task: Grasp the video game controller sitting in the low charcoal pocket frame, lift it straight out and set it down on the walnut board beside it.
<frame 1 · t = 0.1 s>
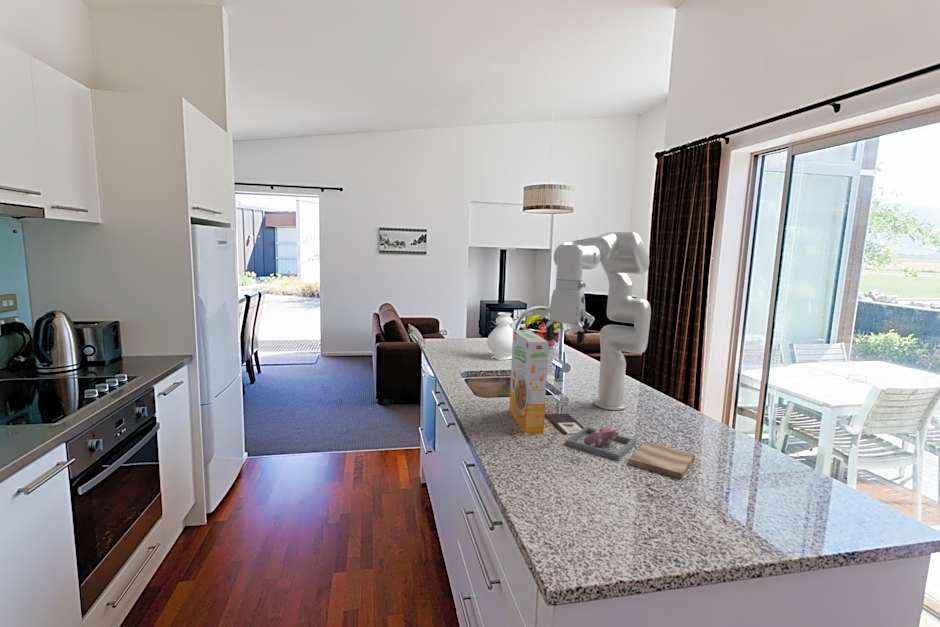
hand: (564, 341, 145), 31 cm above the worktop, tool pointing down, fingers open, 9 cm apart
cereal box: (525, 421, 164), on the worktop
video game controller: (600, 445, 146), on the worktop
pocket frame: (601, 444, 146), on the worktop
decorative vase: (502, 358, 262), on the worktop
chocolate bar: (565, 425, 162), on the worktop
walnut board: (662, 461, 135), on the worktop
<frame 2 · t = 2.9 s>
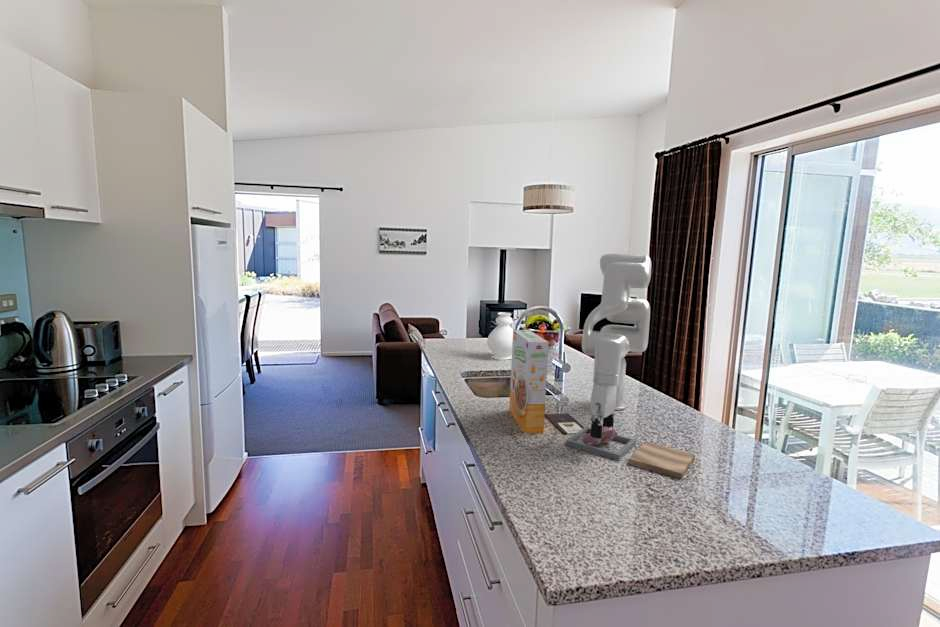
hand: (601, 433, 145), 4 cm above the worktop, tool pointing down, fingers open, 9 cm apart
video game controller: (599, 444, 146), on the worktop, touching gripper
everything else where it was.
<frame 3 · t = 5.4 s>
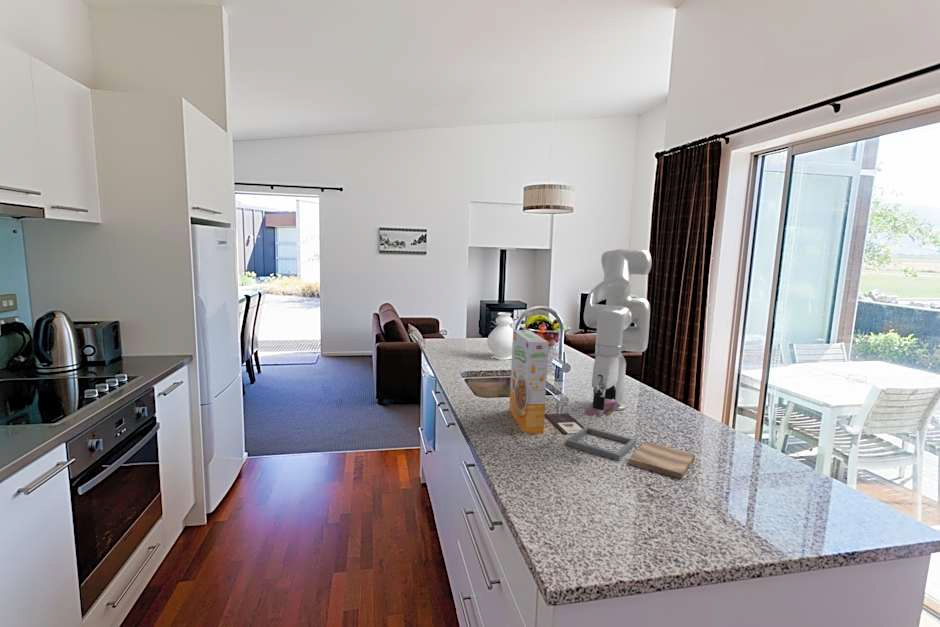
hand: (604, 404, 145), 12 cm above the worktop, tool pointing down, fingers closed on video game controller, 9 cm apart
video game controller: (601, 416, 146), point 8 cm above the worktop, touching gripper
everything else where it was.
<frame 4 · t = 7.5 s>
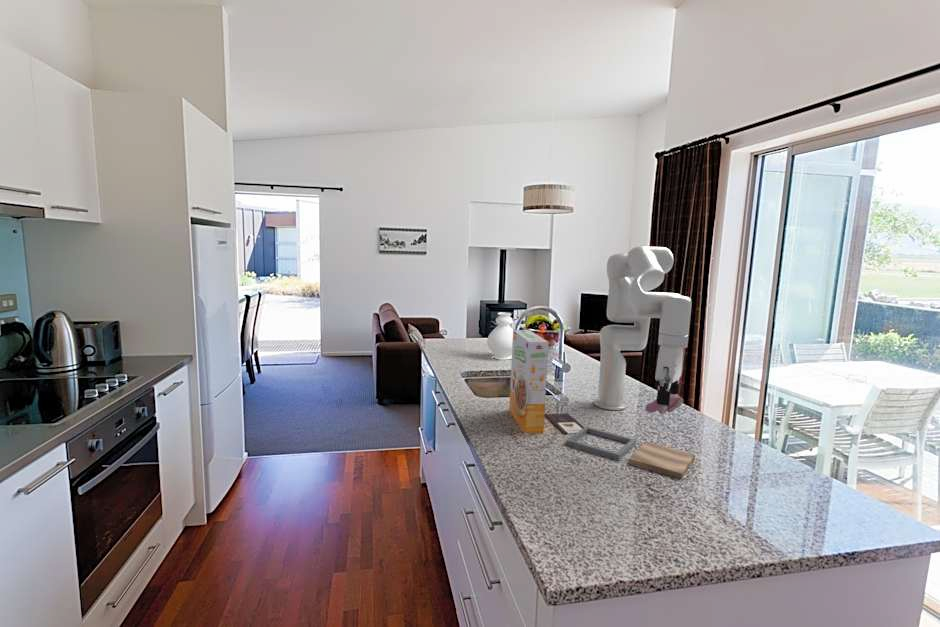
hand: (667, 400, 133), 18 cm above the worktop, tool pointing down, fingers closed on video game controller, 9 cm apart
video game controller: (664, 413, 134), point 14 cm above the worktop, touching gripper
everything else where it was.
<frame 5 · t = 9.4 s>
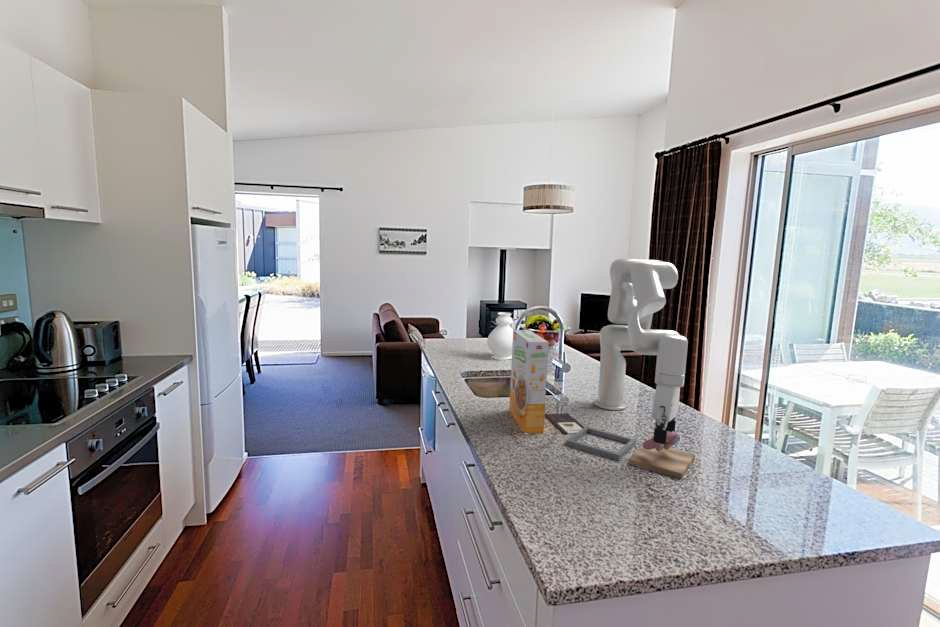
hand: (664, 437, 134), 7 cm above the worktop, tool pointing down, fingers closed on video game controller, 9 cm apart
video game controller: (660, 450, 136), point 3 cm above the worktop, touching gripper
everything else where it was.
when the fingers open (6 cm above the worktop, at t = 10.7 s): video game controller drops 1 cm, resting on walnut board.
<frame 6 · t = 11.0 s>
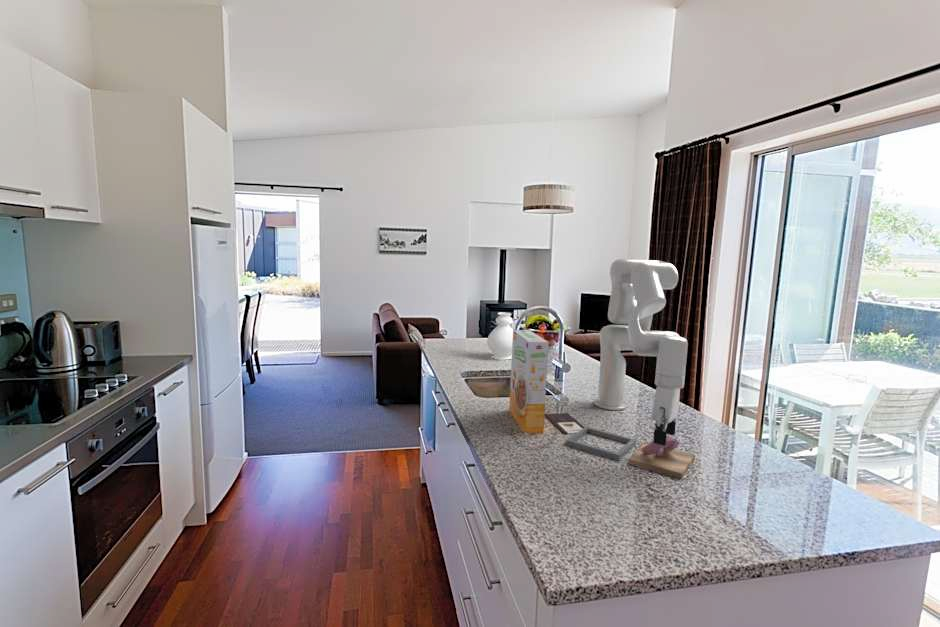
hand: (664, 438, 134), 7 cm above the worktop, tool pointing down, fingers open, 9 cm apart
video game controller: (660, 455, 136), point 1 cm above the worktop, touching walnut board
everything else where it was.
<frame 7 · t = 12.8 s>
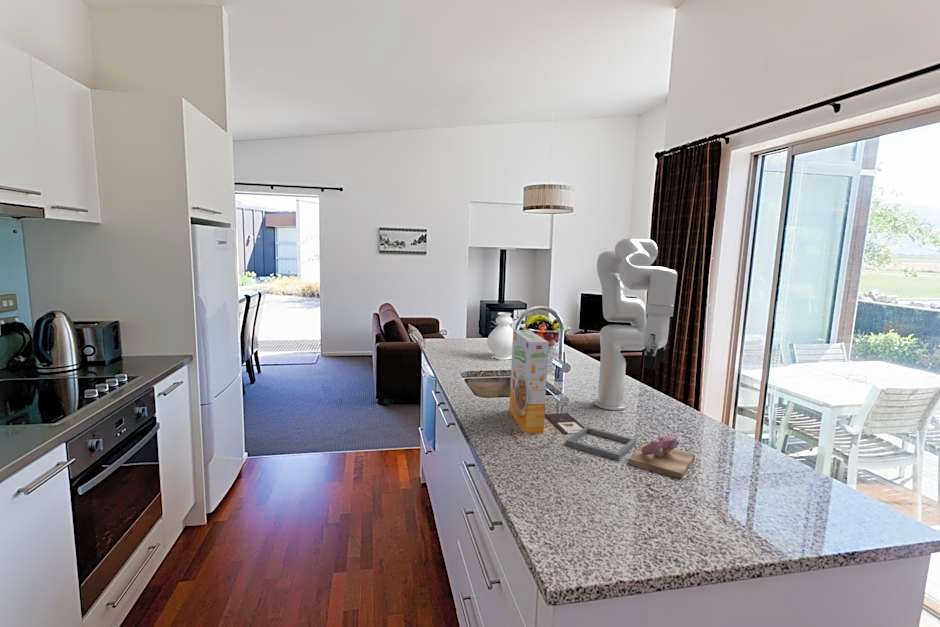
hand: (654, 365, 145), 25 cm above the worktop, tool pointing down, fingers open, 9 cm apart
nothing on the worktop moved.
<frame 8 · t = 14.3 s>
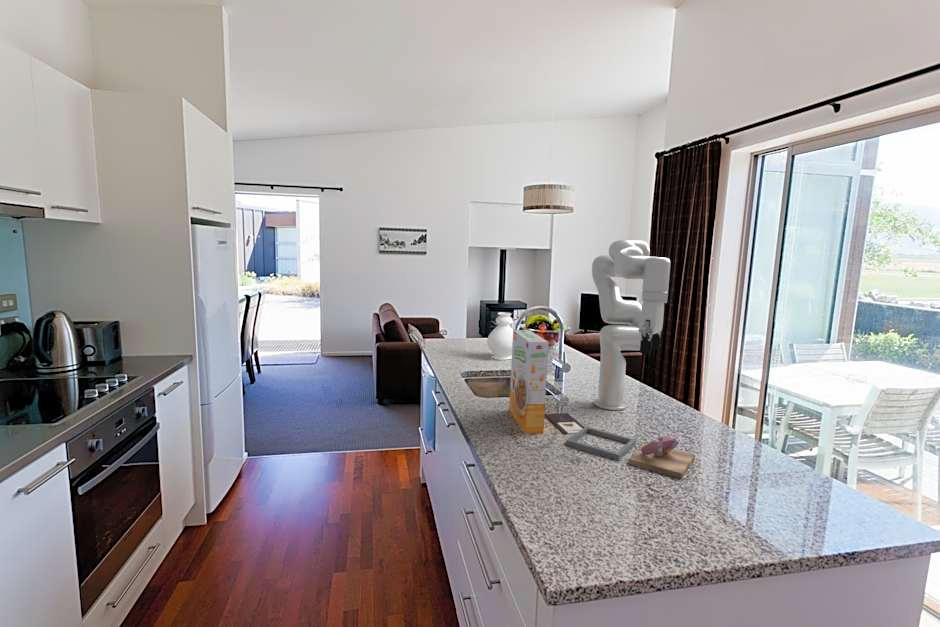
hand: (649, 351, 149), 28 cm above the worktop, tool pointing down, fingers open, 9 cm apart
nothing on the worktop moved.
at the end: video game controller inside the target area on the walnut board (1.4 cm from its centre), point 1.3 cm above the walnut board's base; the gripper is holding nothing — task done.
